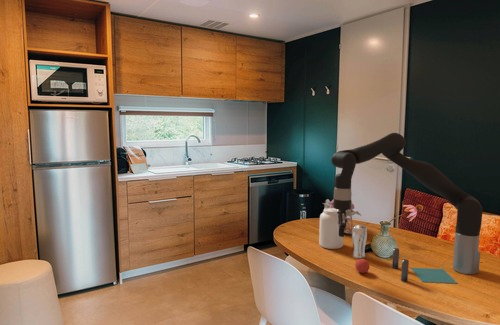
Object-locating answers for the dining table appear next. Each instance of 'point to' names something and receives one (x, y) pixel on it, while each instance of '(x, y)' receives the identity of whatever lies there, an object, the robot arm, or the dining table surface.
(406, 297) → the dining table surface
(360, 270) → the ball
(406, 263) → the post
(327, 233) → the white jar
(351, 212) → the flower
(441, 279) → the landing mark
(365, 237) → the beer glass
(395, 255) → the post
